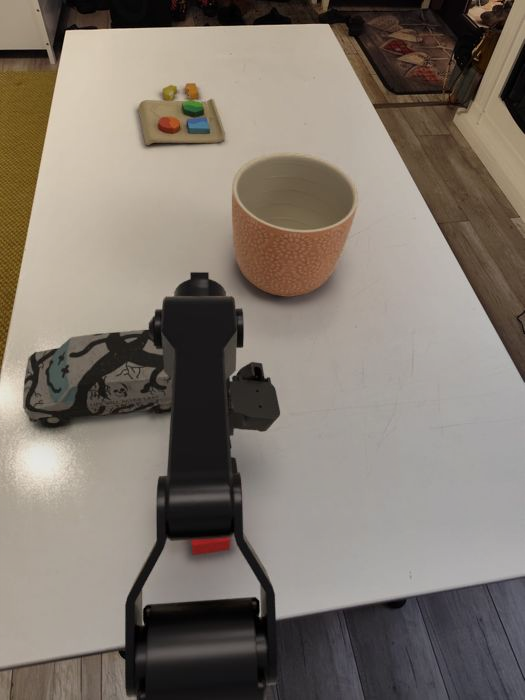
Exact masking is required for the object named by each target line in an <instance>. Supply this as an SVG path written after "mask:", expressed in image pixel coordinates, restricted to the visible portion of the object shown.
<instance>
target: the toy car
mask: <svg viewBox="0 0 525 700" xmlns="http://www.w3.org/2000/svg"><path fill="white" fill-rule="evenodd" d="M24 374H25V375H24V382H23V383H24V384H23V392H22V393H23V394H22V395H23V396H22V408H23V409H24V413H25V414H26V416H27V417H28V421H29V422H31V423H34V424H37V423H39V425H40V426H42V427H44V428H49V429H56V428H61V427H64V426H66V425H67V424H68V422H69V419H70V420H72V419H81V418H82V419H84V418H93V417H102V416H103V417H104V416H111V415H122V414H130V413H137V412H143V411H150V410H151V409H152V413H154V414H156V415H160V414H167V413H171V401H172V385H173V382H172V379H171V378H170V377H169V376H168V375H167V374H166V373H165V372H164V362H163V350H162V349H156V346H154V340H153V339H152V338H151V337H150V336H149V329H137V330H136V329H135V330H127V331H126V330H125V331H116V332H102V333H95V334H94V333H93V334H84V335H78V336H71V337H70V338H69V339H67V340H66V341H65V342H64V343H63V344H62V345H60V346H59V347H57V348H52V349H46V350H41V351H40V350H39V351H35V352H33V353H32V354H30V356H28V358H27V363H26V368H25V373H24Z"/></svg>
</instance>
